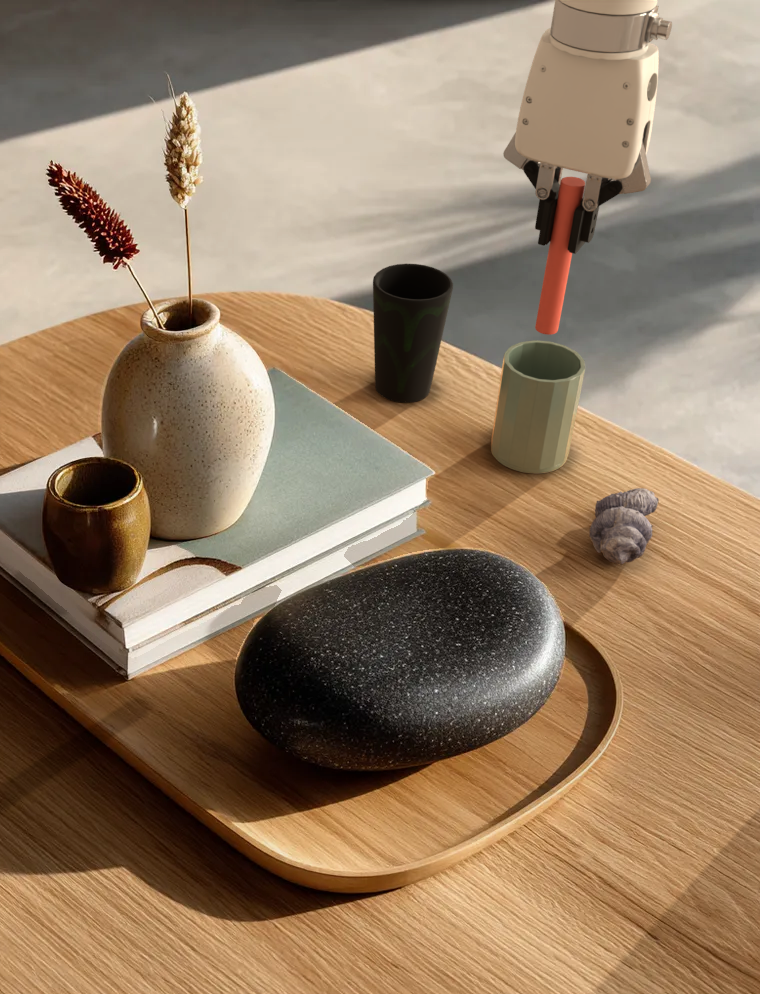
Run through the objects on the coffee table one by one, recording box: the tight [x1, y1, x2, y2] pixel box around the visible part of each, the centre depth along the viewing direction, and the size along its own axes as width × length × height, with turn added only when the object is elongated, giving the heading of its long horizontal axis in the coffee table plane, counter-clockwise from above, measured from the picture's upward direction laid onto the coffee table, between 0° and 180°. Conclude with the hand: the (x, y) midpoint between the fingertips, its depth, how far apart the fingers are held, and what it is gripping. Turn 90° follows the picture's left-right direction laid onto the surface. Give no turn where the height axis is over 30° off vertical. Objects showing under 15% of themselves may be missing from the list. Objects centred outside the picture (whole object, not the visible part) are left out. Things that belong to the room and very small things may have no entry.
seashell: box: [588, 487, 659, 565], centre depth 114 cm, size 5×5×10 cm
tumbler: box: [490, 339, 586, 475], centre depth 123 cm, size 7×7×10 cm
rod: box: [534, 176, 586, 335], centre depth 114 cm, size 2×2×14 cm
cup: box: [372, 263, 454, 404], centre depth 131 cm, size 8×8×12 cm
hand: (562, 241), depth 113 cm, fingers closed on rod, 2 cm apart
